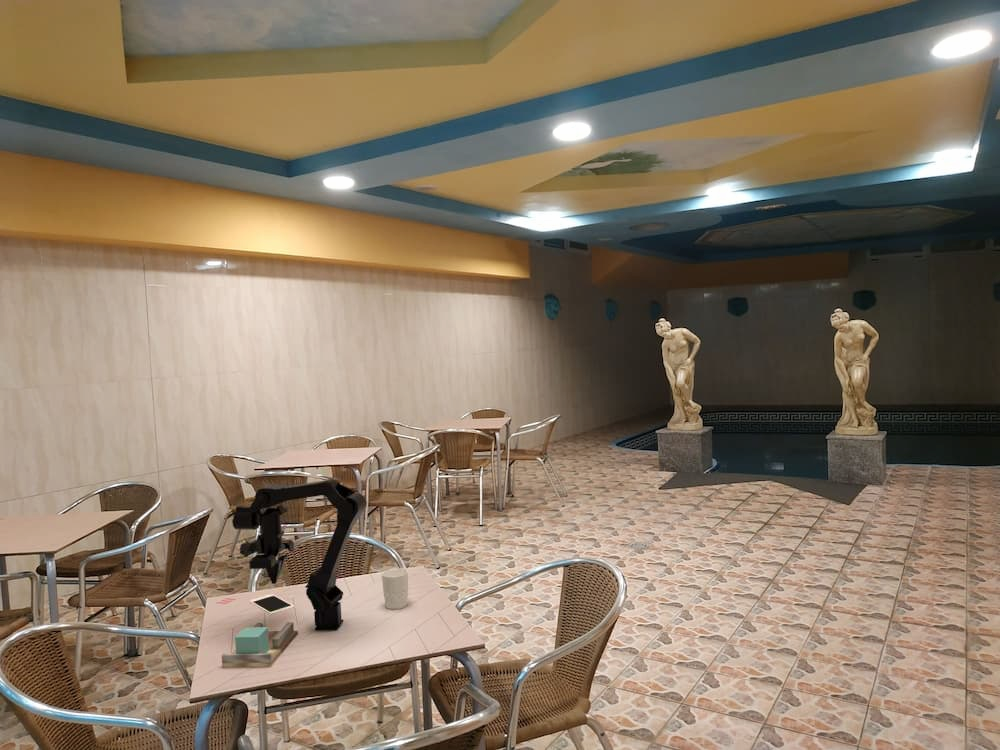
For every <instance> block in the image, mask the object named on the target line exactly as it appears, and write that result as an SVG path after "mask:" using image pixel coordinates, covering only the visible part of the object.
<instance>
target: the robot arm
mask: <svg viewBox="0 0 1000 750" xmlns="http://www.w3.org/2000/svg"><path fill="white" fill-rule="evenodd" d="M319 496H324V497H326V498H327V501H329V503H330V504H331V506H333V507H334V509H336V511H337V512H336V526H335V529H334V531H333V535H332V537H331V539H330V542H329V544H328V547H327V551H326V553H325V556H324V557H323V561H322V563H321V566H320V567H318V568H317V569H316V570H315V571H313V572H311V573H310V575H309V577H308V582H307V584H306V585H305V587H304V588H306V589H305V591H306V592H305V595H306V597H307V599H308V600H309V601H310V603H311V606H312V608H313V610H314V613H313V615H314V626H315V627H314V631H337V630H339V628H340V627H341V626H342V624H343V623H344V619H343V618H342V606H341V604H342V602H341V601H342V600H343V596H344V592H343V591H342V590H341V589H340V587H338V585H337V584H336V583H337V579H338V578H337V570H338V566H339V564H340V561H341V558H342V556H343V554H344V551H345V550H346V546H347V543H348V541H349V538H350V535H351V533H352V530H353V528H354V526H355V525H356V523H357V522H358V520H359V519H360V517H362V515H363V513H364V511H365V510H366V508H367V505H368V503H367V499H366V497H364V495H363V494H362V493H359V492H356V491H354V489H352V488H350V487H348V486H346V485H343V484H341V483H340V482H339V481H338V480H336V479H335V478H328V479H326V480H321V481H320V480H319V481H314V482H313V481H312V482H306V483H301V484H300V483H299V484H292V485H287V484H284V483H283V484H282V483H281V484H279V483H271V484H268V485H265V486H264V487H261V488H259V489H257V491H256V492H255V495H254V500H253V501H252V503H251V504H250V505H242V504H241V505H240V504H239V505H238V506H236V507H235V512H234V514H233V517H232V520H231V523H232V526H233V528H234V529H235V530H238V531H240V530H247V531H248V530H249V531H250V530H252V531H253V530H257V529H258V528H260V529H259V530H260V534H259V535H257V538H256V539H253V540H252V541H248V540H247V541H246V542H242V543H241V544H240V548H239V554H240V555H242V556H243V557H244V558H248V557H249V556H250V555H253V554H256V553H257V554H256V555H254V556H253V557H252V558H251V559H250V560H249V562H248V567H249V569H250V570H261V569H262V570H263V569H264V570H265V571H266V572H267V574H268V577H269V580H270V582H271V584H272V585H275V584H277V583H278V581H279V577H280V574H281V572H282V570H283V567H284V565H285V562H286V560H287V558H288V555H283V553H282V552H283V551H284V550H288V551H289V552H292V551H293V550H294V549H295V543H294V541H293V540H292V539H283V536H284V535H285V530H282V517H281V516H282V515H284V514H287V513H288V512H289V510H288V509H287V508H286V507H284V505H282V503H285V502H287V501H292V500H293V501H294V500H301V499H306V498H312V497H313V498H315V497H319ZM277 505H278V506H277ZM274 506H276V507H274ZM263 509H265V510H263Z"/></svg>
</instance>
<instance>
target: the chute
mask: <svg viewBox="0 0 1000 750" xmlns="http://www.w3.org/2000/svg"><path fill="white" fill-rule="evenodd" d="M294 626H295V625H294V622H293V621H289V622H288V621H287V622H286V623H285V624H284V625H283V627H282V628H280V630H268V637H269V651H268V652H267V653H258V654H236V649H235V650H234V651H233V652H232V653H222V655H221V667H222V668H253V667H254V668H256V667H257V668H258V667H259V668H260V667H261V668H262V667H263V668H266V667H268V668H269V667H270V668H271V667H272V666H273V665H274V663H275V662H276V661H277V660H278V658H279V657H281V655H282V654H283V653H284V651H285V650H286V649H287V648H288V647H289V645H290V644H291V643H292V642H293V641H294V639H295V638H296V637H297V636H298V635H299V630H295V629H294ZM253 627H264V622H257V623H256V624H254V626H253Z"/></svg>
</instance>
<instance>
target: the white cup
mask: <svg viewBox="0 0 1000 750" xmlns="http://www.w3.org/2000/svg"><path fill="white" fill-rule="evenodd" d="M381 581H382V591H383V597H384V607H385V608H387V609H390V610H399V609H402V608H405V607H407V606H408V604H409V603H408V602H409V601H408V597H409V571H408V570H407V568H401V567H400V568H391V569H386V570H385V571H383V572H382V573H381Z"/></svg>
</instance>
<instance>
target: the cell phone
mask: <svg viewBox="0 0 1000 750" xmlns="http://www.w3.org/2000/svg"><path fill="white" fill-rule="evenodd" d="M248 602H249V603H250V602H251V604H252V603H253V605H254V604H255V605H254V606H256V607H257V606H258V608H259V607H260V609H261V608H262V609H261V610H263V611H264V610H265V612H266V611H267V612H266V613H268V614H269V613H270V614H269V615H273V613H274V614H277V613H281V612H283V610H284V611H287V610H290V609H293V608H295V607H296V606H295V604H292V603H290V602H288V601H286V600H284V599H282V598H281V597H279V596H277V595H276V594H273V593H270V594H267V595H263V596H261V597H257V598H253V599H250V600H248ZM286 609H287V610H286Z"/></svg>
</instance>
